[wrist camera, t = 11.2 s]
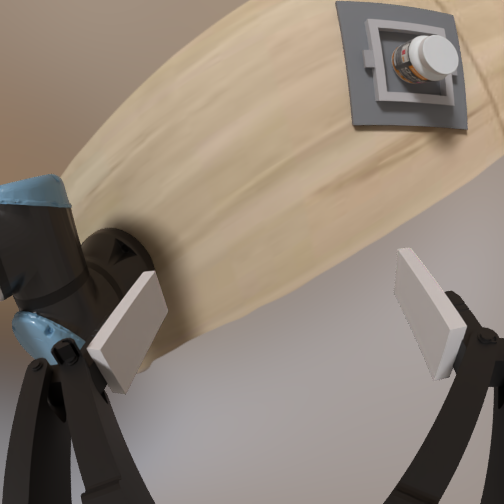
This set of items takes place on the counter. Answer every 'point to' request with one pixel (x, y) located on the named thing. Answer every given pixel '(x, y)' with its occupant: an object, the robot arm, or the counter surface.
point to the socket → (383, 75)
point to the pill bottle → (425, 59)
